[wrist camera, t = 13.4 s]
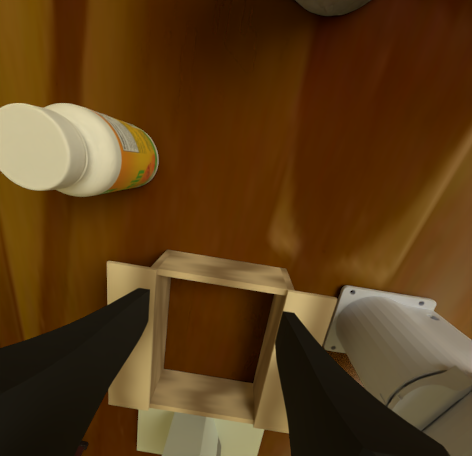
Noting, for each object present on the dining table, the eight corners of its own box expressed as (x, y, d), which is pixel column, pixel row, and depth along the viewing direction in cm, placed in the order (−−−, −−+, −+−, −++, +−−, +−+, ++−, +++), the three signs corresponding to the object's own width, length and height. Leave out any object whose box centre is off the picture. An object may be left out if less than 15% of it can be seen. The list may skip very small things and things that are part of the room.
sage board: (270, 398, 27) (270, 405, 26) (253, 461, 30) (253, 468, 29) (142, 378, 27) (139, 384, 26) (139, 443, 30) (136, 450, 29)
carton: (320, 274, 22) (337, 299, 18) (285, 392, 27) (292, 434, 22) (132, 244, 22) (106, 262, 18) (130, 367, 26) (108, 404, 22)
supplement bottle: (125, 197, 21) (27, 223, 11) (89, 145, 20) (-54, 127, 10) (171, 168, 20) (106, 171, 10) (136, 112, 19) (26, 58, 9)
